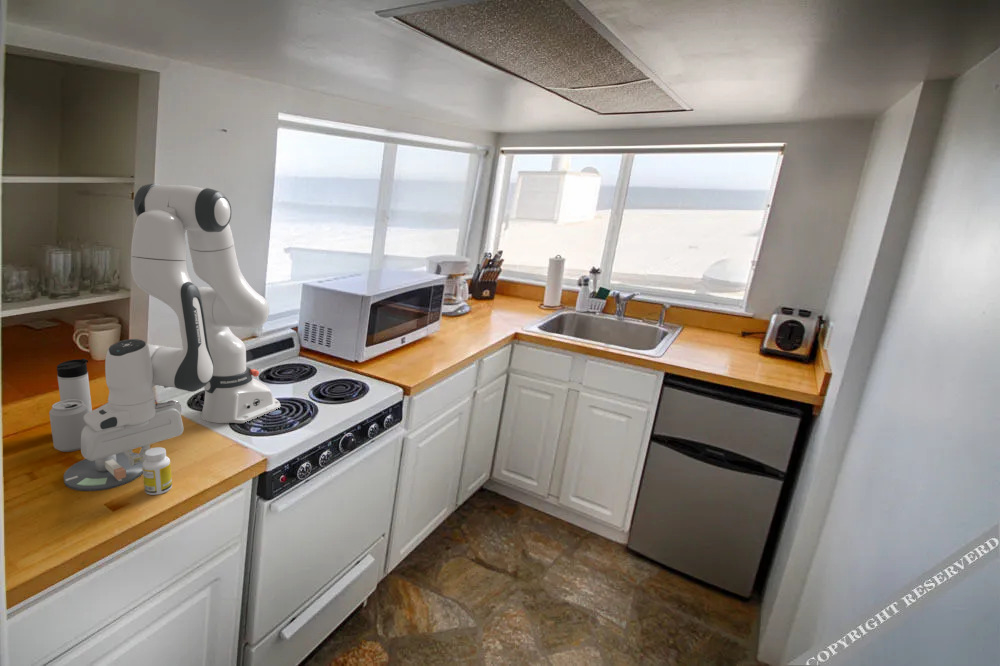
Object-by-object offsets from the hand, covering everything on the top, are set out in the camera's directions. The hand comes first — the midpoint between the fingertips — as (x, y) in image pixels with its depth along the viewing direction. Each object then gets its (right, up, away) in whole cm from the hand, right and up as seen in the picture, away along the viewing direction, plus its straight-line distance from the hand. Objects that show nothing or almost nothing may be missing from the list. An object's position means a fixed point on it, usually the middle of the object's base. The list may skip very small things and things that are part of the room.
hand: (137, 463), depth 125 cm
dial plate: (-8, -3, +1) cm, 8 cm away
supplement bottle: (+7, -5, -3) cm, 10 cm away
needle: (-5, -2, -2) cm, 5 cm away
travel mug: (-28, +4, +18) cm, 33 cm away
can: (-24, +2, +10) cm, 26 cm away
